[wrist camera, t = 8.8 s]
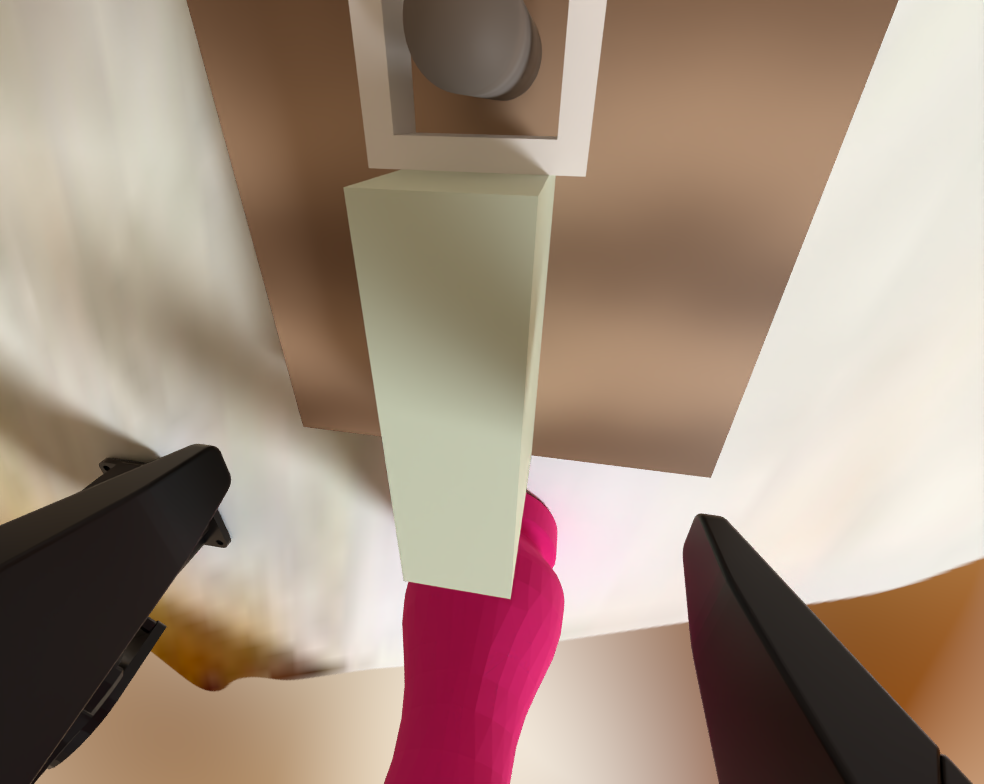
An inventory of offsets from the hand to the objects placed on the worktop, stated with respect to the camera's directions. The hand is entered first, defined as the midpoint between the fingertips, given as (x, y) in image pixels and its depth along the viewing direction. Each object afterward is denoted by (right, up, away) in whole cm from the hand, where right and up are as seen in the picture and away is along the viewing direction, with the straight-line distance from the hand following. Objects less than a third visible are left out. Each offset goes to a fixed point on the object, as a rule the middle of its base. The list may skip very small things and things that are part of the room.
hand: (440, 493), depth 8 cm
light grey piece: (+1, +6, +5) cm, 8 cm away
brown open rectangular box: (+2, +7, +8) cm, 10 cm away
